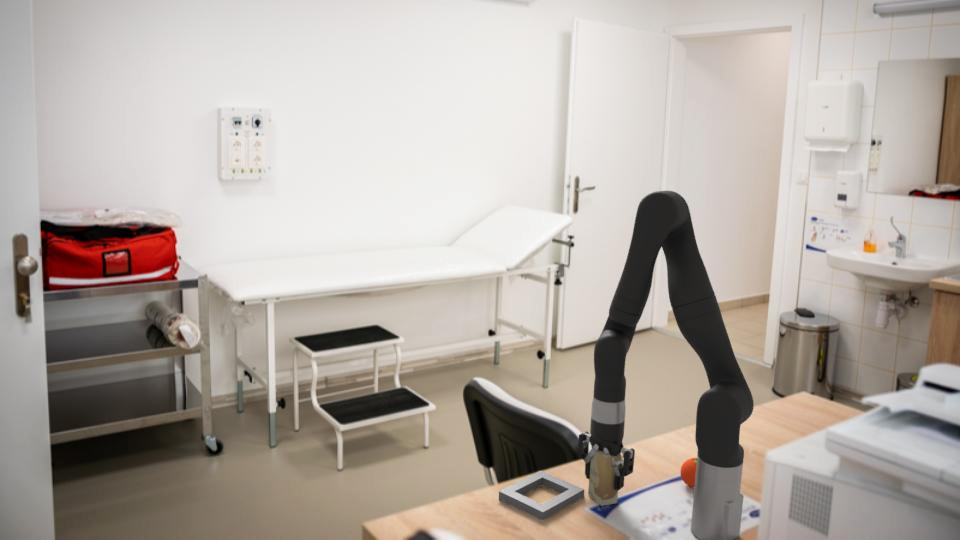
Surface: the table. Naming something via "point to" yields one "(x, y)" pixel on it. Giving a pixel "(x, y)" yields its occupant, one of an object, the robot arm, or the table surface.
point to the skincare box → (603, 478)
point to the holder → (548, 508)
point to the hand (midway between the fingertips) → (603, 483)
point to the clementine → (689, 472)
